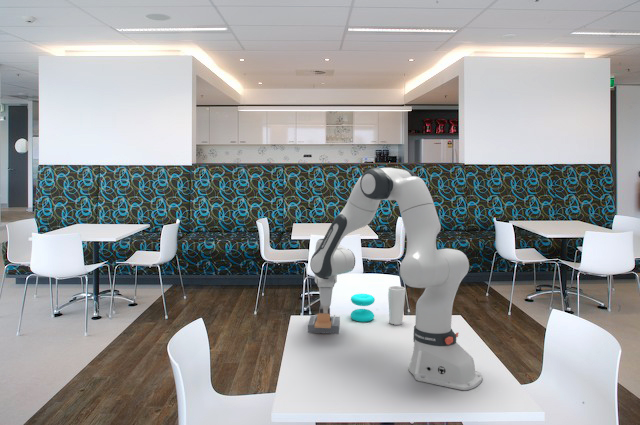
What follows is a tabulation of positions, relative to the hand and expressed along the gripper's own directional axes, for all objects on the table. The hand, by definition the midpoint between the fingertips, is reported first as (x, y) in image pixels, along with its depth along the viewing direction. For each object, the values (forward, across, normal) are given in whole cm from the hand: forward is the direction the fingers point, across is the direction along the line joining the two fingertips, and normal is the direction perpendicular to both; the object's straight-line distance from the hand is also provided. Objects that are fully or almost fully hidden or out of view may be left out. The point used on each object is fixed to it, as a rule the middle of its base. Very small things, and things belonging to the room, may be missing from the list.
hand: (325, 311), depth 201 cm
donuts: (+7, -11, +16) cm, 20 cm away
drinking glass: (+7, -6, +29) cm, 31 cm away
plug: (+6, 0, 0) cm, 6 cm away
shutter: (+3, +8, -1) cm, 8 cm away
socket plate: (+6, +2, 0) cm, 7 cm away
